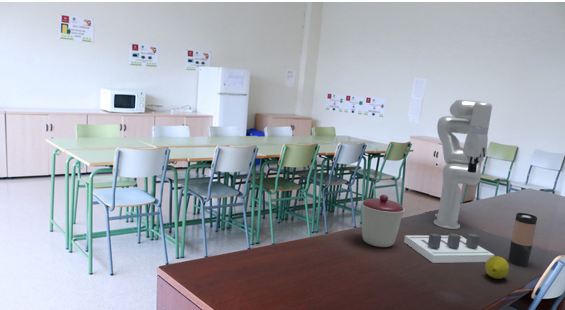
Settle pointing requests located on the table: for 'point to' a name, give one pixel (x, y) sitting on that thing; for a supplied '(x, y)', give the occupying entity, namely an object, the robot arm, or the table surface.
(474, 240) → the block
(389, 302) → the table surface
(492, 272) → the lemon
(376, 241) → the canister
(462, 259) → the breaker panel
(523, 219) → the travel mug
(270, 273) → the table surface
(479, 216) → the table surface
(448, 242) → the block
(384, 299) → the table surface
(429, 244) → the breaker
